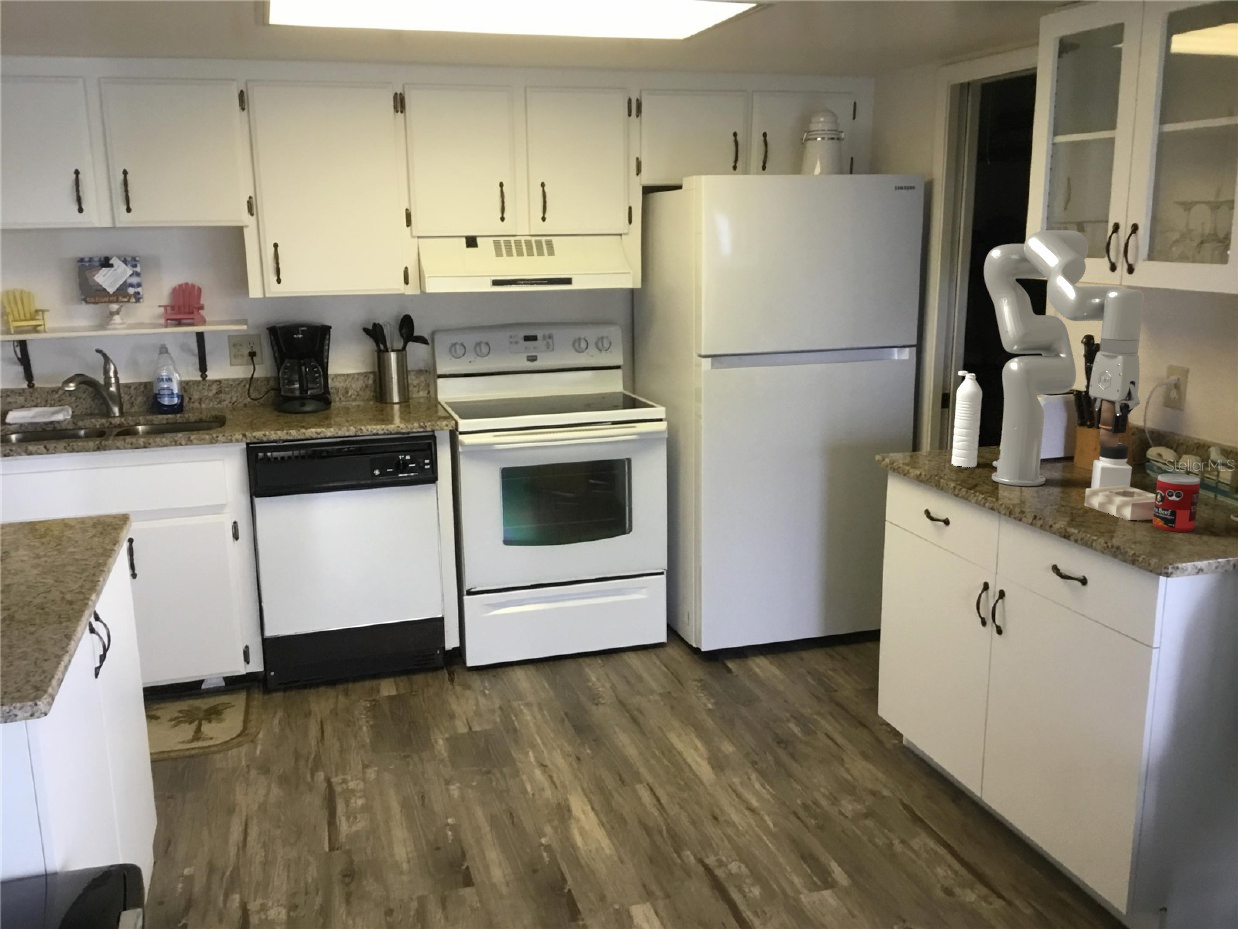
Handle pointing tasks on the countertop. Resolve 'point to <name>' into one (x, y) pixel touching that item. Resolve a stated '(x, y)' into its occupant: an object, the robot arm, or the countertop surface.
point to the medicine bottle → (1112, 467)
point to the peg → (1108, 424)
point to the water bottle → (967, 422)
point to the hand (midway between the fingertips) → (1110, 429)
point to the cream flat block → (1121, 502)
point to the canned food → (1176, 502)
